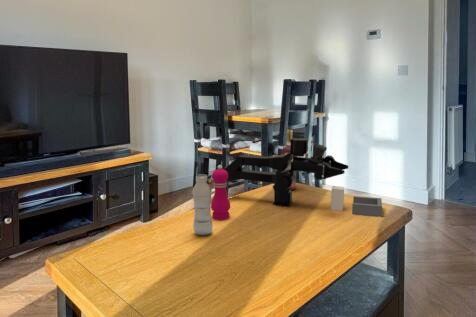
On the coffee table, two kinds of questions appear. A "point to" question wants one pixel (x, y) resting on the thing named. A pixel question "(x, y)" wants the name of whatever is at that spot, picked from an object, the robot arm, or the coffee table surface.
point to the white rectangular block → (337, 198)
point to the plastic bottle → (202, 206)
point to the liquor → (287, 150)
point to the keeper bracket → (367, 206)
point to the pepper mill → (220, 195)
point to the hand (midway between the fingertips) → (346, 169)
